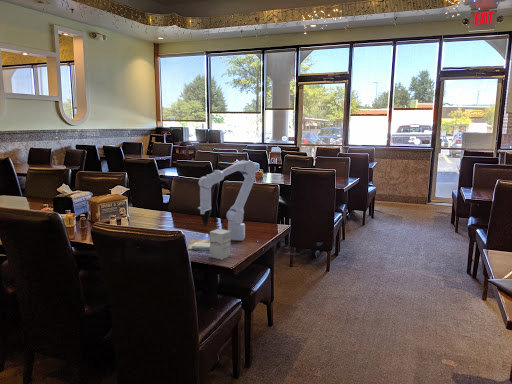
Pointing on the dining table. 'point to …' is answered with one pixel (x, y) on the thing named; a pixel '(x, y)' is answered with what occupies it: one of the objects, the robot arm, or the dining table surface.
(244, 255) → the dining table surface
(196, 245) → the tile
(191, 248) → the mat
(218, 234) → the supplement box
